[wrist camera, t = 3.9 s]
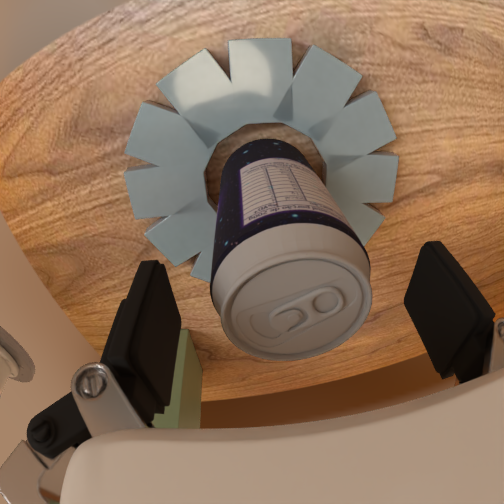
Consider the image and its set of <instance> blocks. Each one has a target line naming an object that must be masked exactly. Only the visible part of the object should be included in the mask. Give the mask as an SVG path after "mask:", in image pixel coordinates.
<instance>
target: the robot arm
mask: <svg viewBox="0 0 504 504" xmlns="http://www.w3.org/2000/svg"><path fill="white" fill-rule="evenodd" d="M404 305H405V307H406V309H407V311H408V313H409V315H410V317H411V319H412V321H413V323H414V325H415V327H416V329H417V331H418V333H419V335H420V337H421V339H422V341H423V344H424V346H425V348H426V350H427V352H428V354H429V357H430V359H431V361H432V363H433V365H434V368H435V370H436V371H437V372H438V373H440V375H441V378H442V379H445V378H448V377H451V376H453V375H454V373H455V375H456V381H455V385H454V387H452V388H449V389H447V390H443V391H441V392H438V393H435V394H432V395H429V396H425V397H422V398H419V399H416V400H412V401H409V402H405V403H402V404H398V405H394V406H390V407H386V408H382V409H378V410H374V411H369V412H365V413H360V414H355V415H350V416H345V417H339V418H333V419H327V420H321V421H314V422H306V423H298V424H290V425H280V426H269V427H253V428H227V429H181V428H156V427H155V426H154V424H153V423H152V421H153V420H154V415H155V414H164V411H165V406H169V405H170V401H171V393H172V385H173V378H174V370H175V363H176V356H177V350H178V343H179V337H180V331H181V317H180V314H179V311H178V308H177V304H176V301H175V298H174V295H173V292H172V288H171V285H170V282H169V279H168V275H167V272H166V268H165V265H164V264H160V263H159V261H158V260H149V261H141V263H140V265H139V267H138V270H137V272H136V275H135V277H134V280H133V283H132V285H131V288H130V290H129V293H128V296H127V298H126V299H124V300H122V301H121V303H120V306H119V308H118V311H117V314H116V316H115V319H114V322H113V325H112V328H111V330H110V333H109V336H108V339H107V342H106V345H105V348H104V351H103V354H102V357H101V361H100V363H98V362H92V363H88V364H85V365H83V366H82V367H80V368H79V369H78V370H77V372H76V373H75V374H74V376H73V378H72V380H71V392H70V393H69V394H67V395H66V396H64V397H63V398H61V399H60V400H58V401H56V402H55V403H54V404H52V405H51V406H49V407H48V408H46V409H45V410H43V411H42V412H40V413H39V414H37V415H36V416H35V417H34V418H32V419H31V421H30V423H29V424H28V428H27V440H26V441H24V440H22V441H21V442H20V443H19V444H18V446H17V447H16V448H15V450H14V451H13V452H12V453H11V455H10V456H9V457H8V458H7V460H6V461H5V462H4V464H3V465H2V466H1V468H0V493H1V494H2V496H3V497H4V499H5V500H6V501H7V502H8V504H504V318H499V319H497V320H496V322H495V323H494V322H493V318H494V317H495V315H496V314H495V313H494V311H493V310H492V308H491V307H490V305H489V304H488V302H487V301H486V299H485V298H484V297H483V295H482V294H481V292H480V291H479V290H478V288H477V287H476V285H475V284H474V283H473V281H472V280H471V279H470V277H469V276H468V275H467V273H466V272H465V271H464V270H463V268H462V267H461V266H460V264H459V263H458V262H457V261H456V259H455V258H454V257H453V256H452V254H451V253H450V252H449V251H448V250H447V248H446V247H445V246H444V245H443V244H442V243H441V242H440V241H429V242H426V243H425V244H424V246H422V247H421V249H420V253H419V256H418V259H417V262H416V265H415V268H414V271H413V274H412V277H411V280H410V283H409V286H408V289H407V291H406V294H405V297H404ZM18 373H19V367H18V365H17V363H16V362H15V360H14V359H13V358H12V356H11V355H10V354H9V353H8V352H7V351H6V350H5V349H4V348H3V347H2V346H1V345H0V397H1V394H2V391H3V389H4V386H5V384H6V381H7V379H8V377H17V375H18Z"/></svg>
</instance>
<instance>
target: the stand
mask: <svg viewBox="0 0 504 504" xmlns="http://www.w3.org/2000/svg"><path fill="white" fill-rule="evenodd" d="M202 373H203V370H202V368H201V365H200V362H199V359H198V356H197V353H196V350H195V347H194V345H193V342H192V339H191V336H190V332H189V329H181V331H180V337H179V343H178V350H177V356H176V363H175V370H174V378H173V385H172V393H171V401H170V405H169V406H165V411H164V414H155V415H154V420H153V421H152V423H153V424H154V426H155V427H156V428H181V429H200V411H201V391H202Z"/></svg>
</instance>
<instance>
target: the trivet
mask: <svg viewBox="0 0 504 504" xmlns="http://www.w3.org/2000/svg"><path fill="white" fill-rule="evenodd" d="M228 52H229V66H230V78H229V77H228V75H227V74H226V73H225V71H224V70H223V69H222V67H221V66H220V65H219V63H218V62H217V61H216V60H215V58H214V57H213V56H212V54H211V53H210V52H209V51H208V49H206V48H204V49H203V50H201V51H200V52H198V53H197V54H195V55H194V56H192V57H191V58H189V59H188V60H187V61H185V62H184V63H182V64H181V65H180V66H178V67H177V68H176V69H174V70H173V71H172V72H170V73H169V74H168V75H166V76H165V77H164V78H162V79H161V80H160V81H159V82H157V83H156V85H157V87H158V88H159V89H160V90H161V92H162V93H163V94H164V95H165V97H166V98H167V99H168V100H169V102H170V103H171V104H172V105H173V107H174V108H175V109H176V110H177V111H176V110H174V109H171V108H168V107H166V106H163V105H160V104H157V103H155V102H152V101H149V100H146V101H143V102H142V104H141V107H140V109H139V112H138V115H137V117H136V120H135V123H134V126H133V128H132V131H131V134H130V137H129V140H128V143H127V146H126V149H125V154H128V155H130V156H133V157H136V158H138V159H141V160H144V161H146V162H149V163H152V164H147V165H140V166H134V167H129V168H127V170H126V171H125V172H124V176H125V181H126V185H127V189H128V193H129V197H130V201H131V205H132V209H133V213H134V216H135V219H144V218H153V217H161V218H160V219H158V220H157V221H155V222H154V223H153V224H151V225H150V226H149V227H147V229H146V232H145V234H144V235H145V236H146V237H147V238H148V239H149V240H150V241H151V242H152V243H153V245H154V246H155V247H156V248H157V249H158V250H159V251H160V252H161V253H162V254H163V255H164V256H165V257H166V258H167V259H168V260H169V261H170V262H171V263H172V264H173V265H174V266H175V267H177V266H178V265H180V264H181V263H183V262H185V261H186V260H188V259H190V258H191V257H193V256H194V255H196V254H198V255H197V257H196V259H195V261H194V263H193V265H192V267H191V273H190V276H192V277H195V278H198V279H201V280H204V281H207V282H210V280H211V269H212V258H213V248H214V238H215V228H216V219H217V210H218V207H217V205H216V204H215V203H214V202H213V201H212V199H211V198H210V197H209V193H208V185H207V177H206V167H207V165H208V163H209V160H210V158H211V156H212V154H213V152H214V150H215V148H216V146H217V144H218V143H219V142H220V141H222V140H223V139H225V138H226V137H228V136H229V135H231V134H232V133H234V132H235V131H237V130H238V129H240V128H242V127H243V126H245V125H246V124H259V123H284V124H286V125H288V126H289V127H291V128H293V129H295V130H297V131H299V132H301V133H303V134H304V135H306V136H308V137H309V138H310V139H311V141H312V143H313V144H314V146H315V148H316V150H317V151H318V153H319V155H320V157H321V158H322V160H323V171H322V183H323V184H324V186H325V187H326V188H327V190H328V191H329V193H330V194H331V196H332V197H333V199H334V200H335V202H336V203H337V205H338V206H339V208H340V209H341V211H342V213H343V214H344V216H345V217H346V219H347V220H348V222H349V223H350V225H351V227H352V228H353V230H354V231H355V233H356V235H357V236H358V238H359V239H360V241H361V243H362V244H363V246H365V245H366V243H367V242H368V241H369V239H370V238H371V237H372V235H373V234H374V233H375V231H376V230H377V229H378V227H379V226H380V225H381V223H382V222H383V221H384V219H385V216H384V215H383V214H382V213H381V212H380V211H379V210H377V209H376V208H374V207H372V206H371V205H369V204H367V203H383V202H392V201H393V195H394V189H395V183H396V176H397V169H398V161H399V156H398V155H396V154H395V153H393V152H382V151H375V150H376V149H378V148H380V147H382V146H384V145H386V144H387V143H389V142H391V141H393V140H395V139H397V138H396V135H395V133H394V130H393V128H392V125H391V123H390V121H389V118H388V116H387V114H386V111H385V109H384V107H383V105H382V103H381V100H380V98H379V96H378V94H377V92H376V91H372V90H368V91H366V92H364V93H362V94H360V95H358V96H356V97H355V98H353V99H351V100H349V101H348V99H349V98H350V96H351V94H352V93H353V91H354V89H355V88H356V86H357V85H358V83H359V81H360V80H361V78H362V75H361V74H360V73H358V72H357V71H355V70H354V69H352V68H351V67H349V66H348V65H346V64H345V63H343V62H342V61H340V60H339V59H337V58H336V57H334V56H332V55H331V54H329V53H327V52H326V51H324V50H322V49H321V48H319V47H317V46H316V45H311V46H309V47H308V49H307V51H306V52H305V54H304V55H303V57H302V59H301V61H300V62H299V64H298V66H297V67H296V69H295V71H294V72H293V62H292V41H291V38H253V39H235V40H228Z"/></svg>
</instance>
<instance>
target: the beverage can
mask: <svg viewBox="0 0 504 504" xmlns="http://www.w3.org/2000/svg"><path fill="white" fill-rule="evenodd" d="M210 294H211V299H212V302H213V305H214V307H215V309H216V311H217V313H218V314H219V316H220V317H221V324H222V327H223V330H224V332H225V334H226V336H227V337H228V339H229V340H230V341H231V342H232V343H233V344H234V345H235V346H236V347H238V348H239V349H241V350H242V351H244V352H246V353H248V354H250V355H253V356H255V357H259V358H262V359H267V360H274V361H294V360H301V359H306V358H311V357H314V356H317V355H320V354H323V353H325V352H328V351H330V350H332V349H334V348H336V347H338V346H339V345H341V344H342V343H344V342H345V341H347V340H348V339H349V338H350V337H352V336H353V335H354V334H355V333H356V332H357V331H358V330H359V328H360V327H361V326H362V325H363V323H364V321H365V320H366V318H367V316H368V314H369V312H370V309H371V305H372V289H371V285H370V261H369V257H368V254H367V252H366V250H365V248H364V246H363V244H362V243H361V241H360V239H359V238H358V236H357V235H356V233H355V231H354V230H353V228H352V227H351V225H350V223H349V222H348V220H347V219H346V217H345V216H344V214H343V213H342V211H341V209H340V208H339V206H338V205H337V203H336V202H335V200H334V199H333V197H332V196H331V194H330V193H329V191H328V190H327V188H326V187H325V186H324V184H323V183H322V181H321V180H320V178H319V177H318V175H317V174H316V173H315V171H314V170H313V168H312V167H311V166H310V164H309V163H308V161H307V160H306V159H305V157H304V156H303V155H302V154H301V152H300V151H299V150H297V149H296V148H295V147H293V146H292V145H290V144H288V143H286V142H283V141H280V140H275V139H260V140H255V141H252V142H249V143H247V144H245V145H243V146H241V147H240V148H238V149H237V150H236V151H235V152H234V153H233V154H232V155H231V156H230V157H229V159H228V160H227V162H226V164H225V166H224V168H223V171H222V176H221V184H220V192H219V201H218V210H217V219H216V228H215V238H214V248H213V258H212V269H211V280H210Z"/></svg>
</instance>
